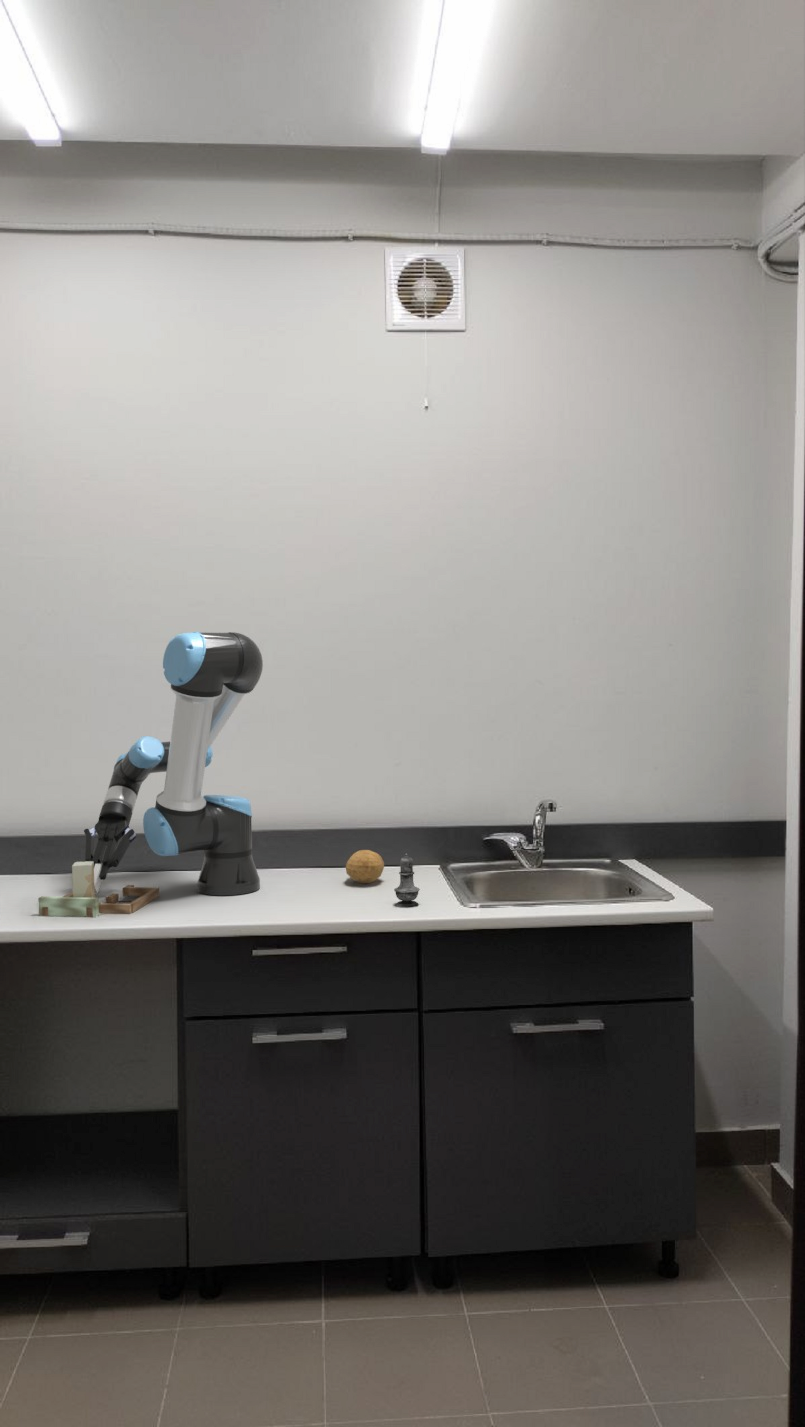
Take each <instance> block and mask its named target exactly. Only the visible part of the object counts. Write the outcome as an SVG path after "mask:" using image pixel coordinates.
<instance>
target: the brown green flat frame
mask: <svg viewBox="0 0 805 1427" xmlns="http://www.w3.org/2000/svg"><path fill="white" fill-rule="evenodd" d="M159 891H160V888H159V887H149V886H147V887H145V886H138V887H137V886H135V884H127V885H125V886H124V887H122V897H123V898H121V899H120V897H119V896H120V894H119V893H114V892H113V893H110V894H109V895H107V896H105V903H102V902H101V901H99V897H95V898H89V897H73V890H72V891H70V892H68V893H67V894H65V895H62V896H39V897H37V898H38V903H37V904H38V916H40V917H78V916H81V917H82V918H84V916H86V917H85V918H97V917H98V916H100V914H115V915H116V914H119V915H120V914H121V915H122V914H123V915H131V914H134V913H135V912H136V911H138V910H139V909H141V908H143V907H144V906H146V905H148V904H150V903H151V902H153V901H155V900H156V899H158V898H159V897H160V892H159ZM157 897H158V898H157ZM81 917H80V918H81Z"/></svg>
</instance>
